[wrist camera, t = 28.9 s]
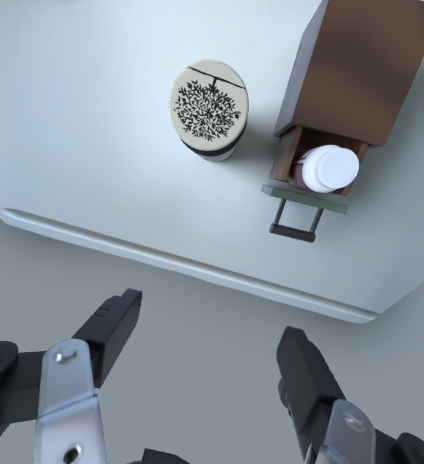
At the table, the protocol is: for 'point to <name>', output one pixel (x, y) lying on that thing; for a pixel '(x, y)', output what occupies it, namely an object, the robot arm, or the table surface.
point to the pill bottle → (323, 169)
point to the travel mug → (209, 109)
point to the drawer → (290, 145)
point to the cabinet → (354, 68)
